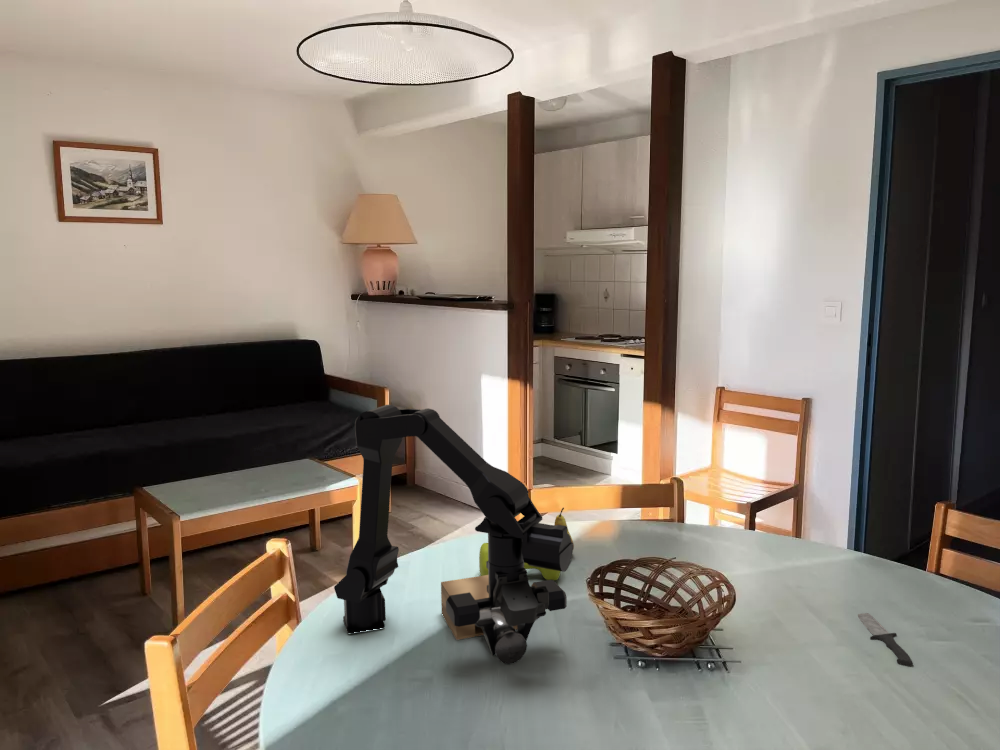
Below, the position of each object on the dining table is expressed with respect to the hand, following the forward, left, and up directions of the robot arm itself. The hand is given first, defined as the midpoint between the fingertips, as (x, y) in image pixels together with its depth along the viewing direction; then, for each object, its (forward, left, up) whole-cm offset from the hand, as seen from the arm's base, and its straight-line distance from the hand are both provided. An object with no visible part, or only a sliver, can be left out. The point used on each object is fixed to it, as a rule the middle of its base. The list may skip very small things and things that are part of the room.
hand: (507, 651), depth 123 cm
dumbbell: (+13, +29, -2) cm, 32 cm away
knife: (+63, -13, -2) cm, 64 cm away
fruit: (+25, +36, -2) cm, 44 cm away
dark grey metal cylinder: (0, +5, -1) cm, 6 cm away
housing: (0, +14, -1) cm, 14 cm away
